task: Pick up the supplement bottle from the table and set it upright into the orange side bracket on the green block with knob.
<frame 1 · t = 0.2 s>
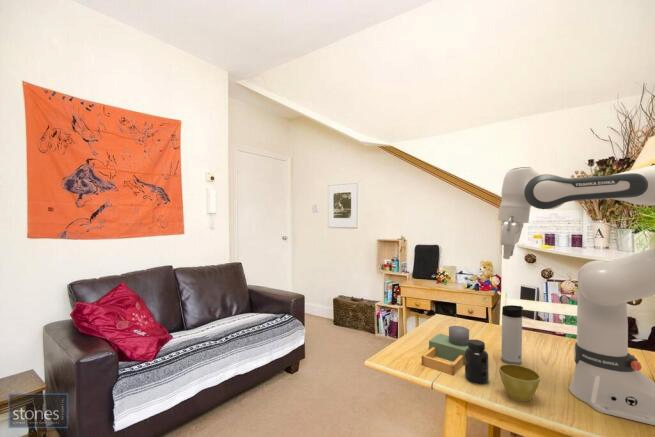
hand: (508, 257, 106), 38 cm above the table, tool pointing down, fingers open, 8 cm apart
travel mug: (511, 362, 113), on the table
supplement bottle: (476, 380, 100), on the table
flower pot: (518, 397, 91), on the table
green block with knob: (452, 355, 118), on the table
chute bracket: (442, 363, 111), on the table
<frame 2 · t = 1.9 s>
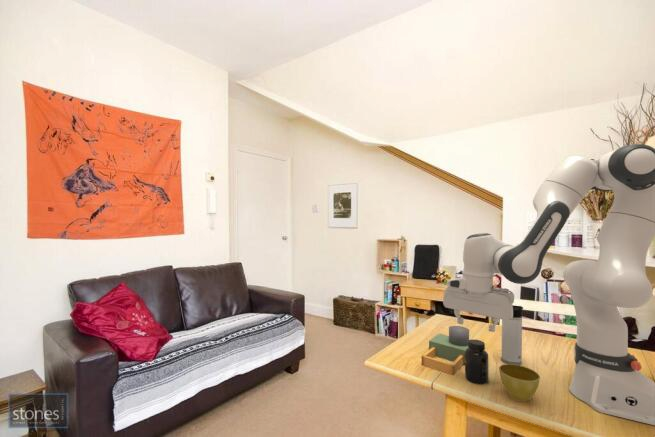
hand: (475, 327, 100), 17 cm above the table, tool pointing down, fingers open, 8 cm apart
nothing on the table moved.
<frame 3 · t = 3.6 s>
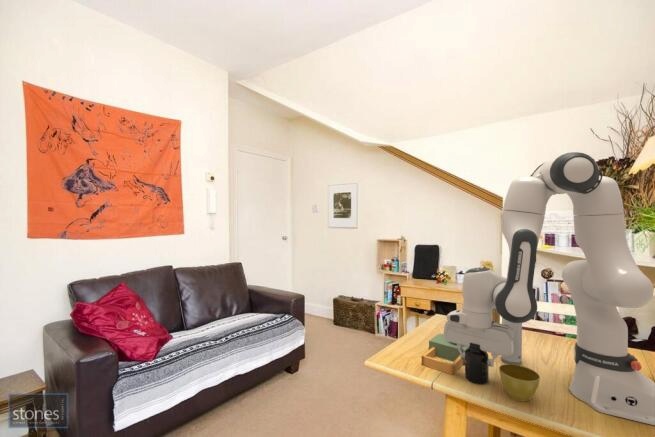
hand: (476, 361, 100), 6 cm above the table, tool pointing down, fingers closed on supplement bottle, 7 cm apart
supplement bottle: (476, 380, 100), on the table, touching gripper
everything else where it was.
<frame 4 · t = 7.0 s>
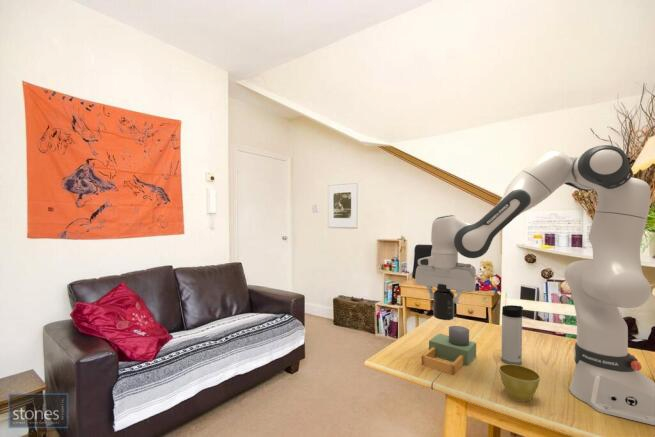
hand: (443, 300, 110), 22 cm above the table, tool pointing down, fingers closed on supplement bottle, 7 cm apart
supplement bottle: (443, 318, 110), point 16 cm above the table, touching gripper
everything else where it was.
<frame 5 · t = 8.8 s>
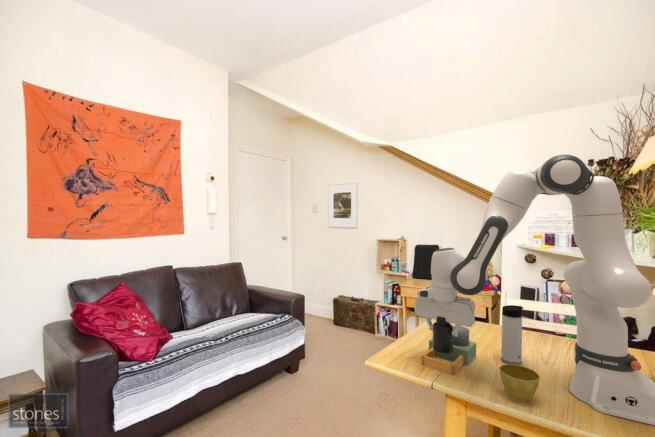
hand: (443, 333, 111), 11 cm above the table, tool pointing down, fingers closed on supplement bottle, 7 cm apart
supplement bottle: (442, 350, 110), point 5 cm above the table, touching gripper
everything else where it was.
when the fingers open (8 cm above the table, at t = 10.6 s): supplement bottle drops 2 cm, on the table.
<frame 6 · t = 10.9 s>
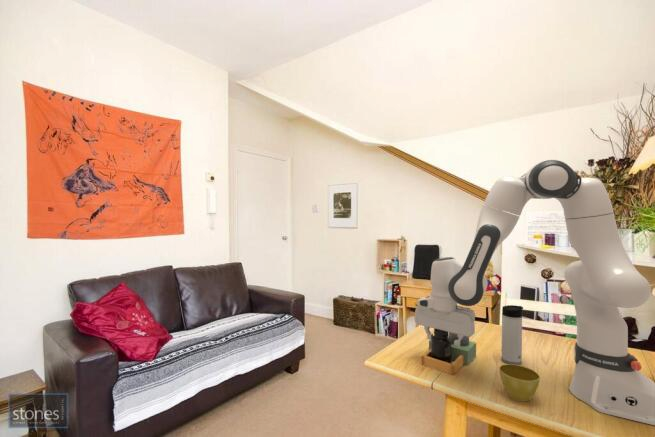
hand: (443, 342, 111), 8 cm above the table, tool pointing down, fingers open, 8 cm apart
supplement bottle: (440, 363, 111), on the table, touching gripper
everything else where it was.
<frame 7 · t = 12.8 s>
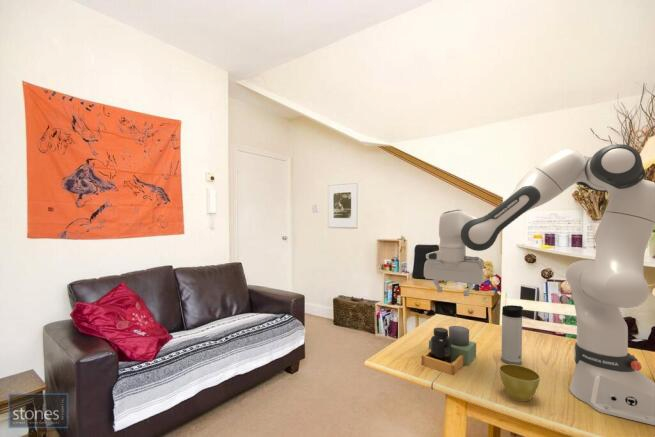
hand: (452, 293, 112), 24 cm above the table, tool pointing down, fingers open, 8 cm apart
supplement bottle: (440, 364, 111), on the table
everything else where it was.
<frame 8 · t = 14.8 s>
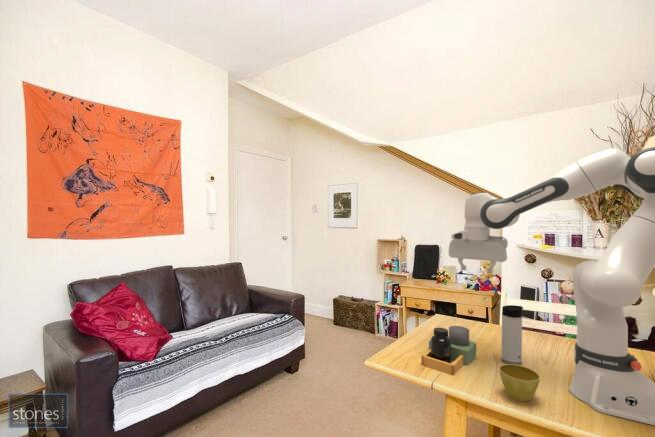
hand: (476, 271, 120), 31 cm above the table, tool pointing down, fingers open, 8 cm apart
nothing on the table moved.
at the end: supplement bottle 0.7 cm off-centre on the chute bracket, point 0.0 cm above the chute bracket's base; supplement bottle tilted 0°; the gripper is holding nothing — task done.
